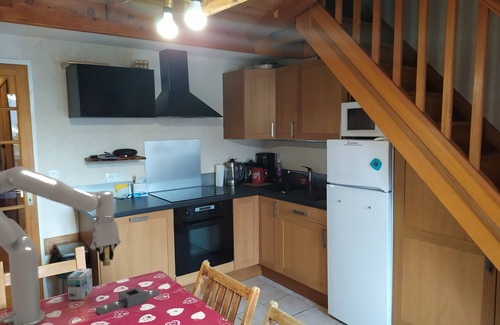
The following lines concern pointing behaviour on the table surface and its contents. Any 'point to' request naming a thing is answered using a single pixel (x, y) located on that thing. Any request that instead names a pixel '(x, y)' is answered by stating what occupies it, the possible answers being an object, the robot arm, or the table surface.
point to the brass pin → (106, 255)
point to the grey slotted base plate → (128, 299)
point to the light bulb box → (79, 284)
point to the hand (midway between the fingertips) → (106, 259)
